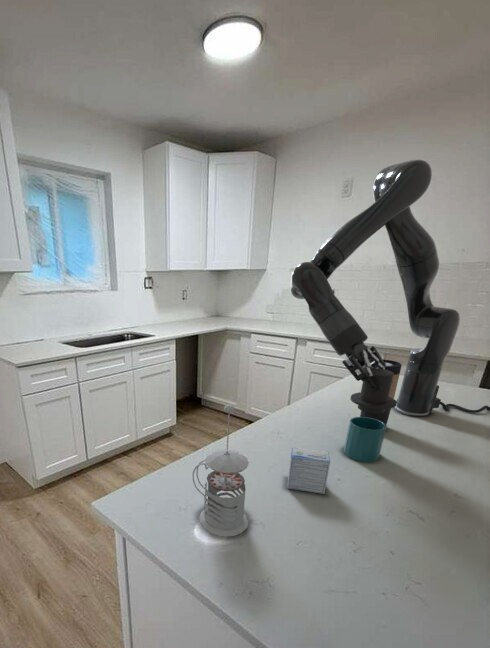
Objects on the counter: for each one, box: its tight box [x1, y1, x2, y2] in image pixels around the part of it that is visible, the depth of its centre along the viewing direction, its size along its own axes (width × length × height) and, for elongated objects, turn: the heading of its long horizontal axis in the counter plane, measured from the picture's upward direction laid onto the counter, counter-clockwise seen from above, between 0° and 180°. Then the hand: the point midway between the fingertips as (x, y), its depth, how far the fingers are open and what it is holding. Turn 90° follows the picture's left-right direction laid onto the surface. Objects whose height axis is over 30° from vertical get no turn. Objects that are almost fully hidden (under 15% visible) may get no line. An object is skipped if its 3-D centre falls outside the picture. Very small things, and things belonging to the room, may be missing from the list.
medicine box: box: [286, 447, 331, 495], centre depth 81 cm, size 8×4×9 cm, turn 71°
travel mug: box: [359, 359, 403, 426], centre depth 106 cm, size 8×8×20 cm
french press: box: [192, 403, 250, 538], centre depth 68 cm, size 10×12×25 cm
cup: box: [343, 416, 388, 463], centre depth 93 cm, size 8×8×9 cm
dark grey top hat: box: [350, 368, 397, 414], centre depth 88 cm, size 10×10×10 cm
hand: (383, 388), depth 86 cm, fingers closed on dark grey top hat, 6 cm apart
